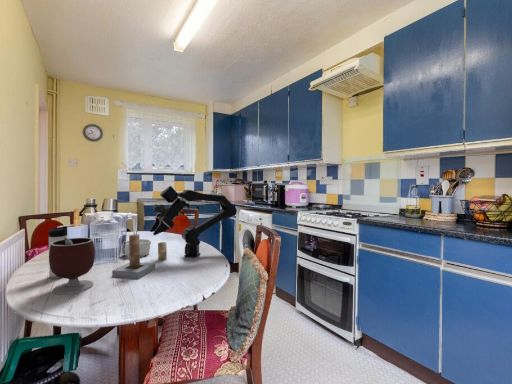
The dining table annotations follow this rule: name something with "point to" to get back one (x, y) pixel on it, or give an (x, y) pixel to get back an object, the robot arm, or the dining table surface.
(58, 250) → the mate gourd
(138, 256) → the walnut pin
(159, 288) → the dining table surface
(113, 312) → the dining table surface
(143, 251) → the ramekin
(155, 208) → the robot arm
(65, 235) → the travel mug
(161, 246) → the short beech pin
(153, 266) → the socket board
